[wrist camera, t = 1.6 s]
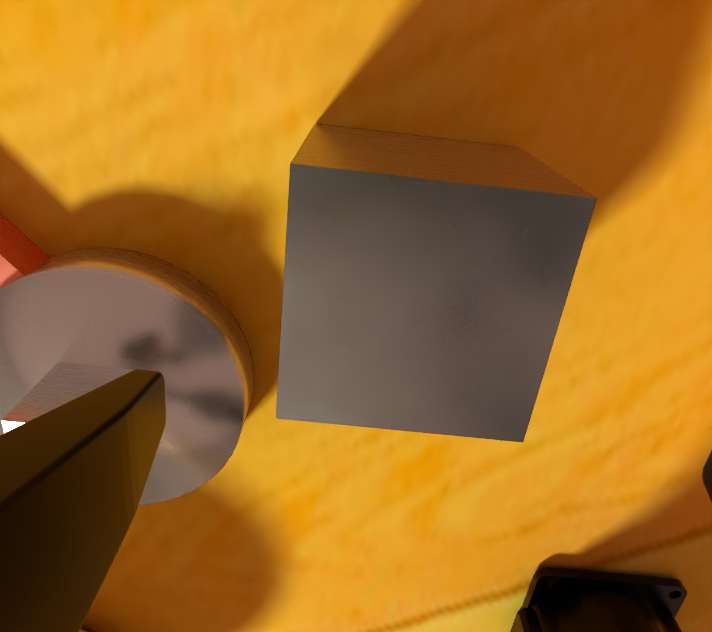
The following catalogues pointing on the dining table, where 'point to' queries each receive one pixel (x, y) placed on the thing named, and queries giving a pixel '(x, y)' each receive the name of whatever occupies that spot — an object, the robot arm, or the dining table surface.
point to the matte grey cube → (423, 282)
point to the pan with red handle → (123, 349)
